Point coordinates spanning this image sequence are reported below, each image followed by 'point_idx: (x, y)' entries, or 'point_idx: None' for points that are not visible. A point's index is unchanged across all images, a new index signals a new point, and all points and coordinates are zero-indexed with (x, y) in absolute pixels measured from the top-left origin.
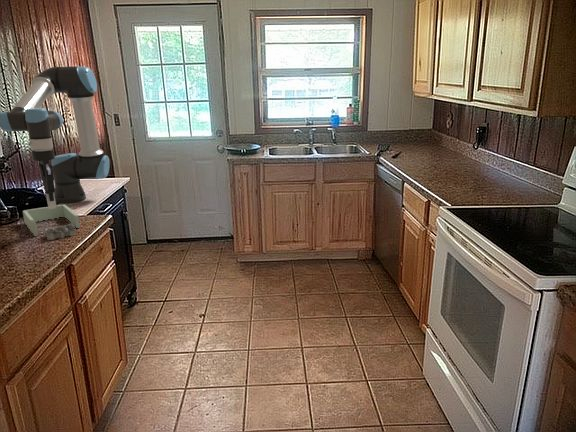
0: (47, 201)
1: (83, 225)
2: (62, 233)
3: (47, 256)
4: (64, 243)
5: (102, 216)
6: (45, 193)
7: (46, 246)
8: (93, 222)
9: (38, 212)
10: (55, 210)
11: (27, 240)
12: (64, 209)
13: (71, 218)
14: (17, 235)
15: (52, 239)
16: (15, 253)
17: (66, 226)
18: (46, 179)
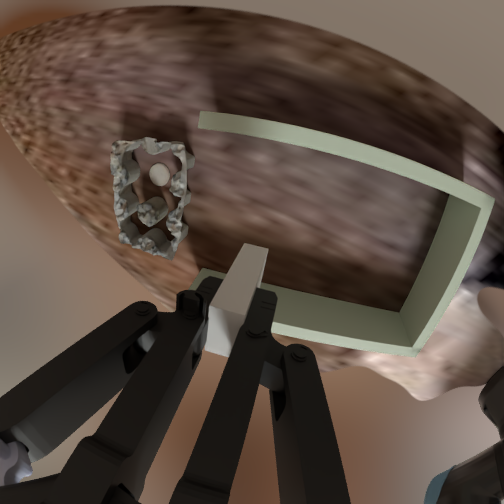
0: (252, 271)
1: None
2: (120, 192)
3: (30, 108)
4: (80, 169)
5: None
6: (182, 291)
7: (85, 118)
8: None
9: (453, 250)
10: (421, 311)
11: (190, 77)
12: (383, 334)
13: None
14: (301, 68)
15: (131, 152)
16: (92, 35)
17: (176, 236)
18: (30, 377)
